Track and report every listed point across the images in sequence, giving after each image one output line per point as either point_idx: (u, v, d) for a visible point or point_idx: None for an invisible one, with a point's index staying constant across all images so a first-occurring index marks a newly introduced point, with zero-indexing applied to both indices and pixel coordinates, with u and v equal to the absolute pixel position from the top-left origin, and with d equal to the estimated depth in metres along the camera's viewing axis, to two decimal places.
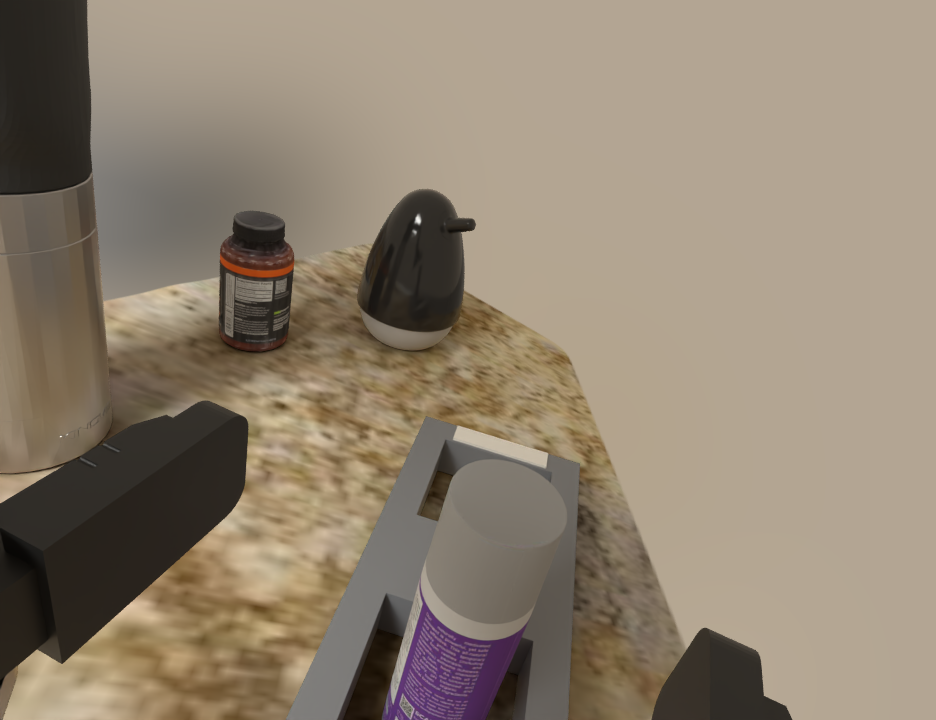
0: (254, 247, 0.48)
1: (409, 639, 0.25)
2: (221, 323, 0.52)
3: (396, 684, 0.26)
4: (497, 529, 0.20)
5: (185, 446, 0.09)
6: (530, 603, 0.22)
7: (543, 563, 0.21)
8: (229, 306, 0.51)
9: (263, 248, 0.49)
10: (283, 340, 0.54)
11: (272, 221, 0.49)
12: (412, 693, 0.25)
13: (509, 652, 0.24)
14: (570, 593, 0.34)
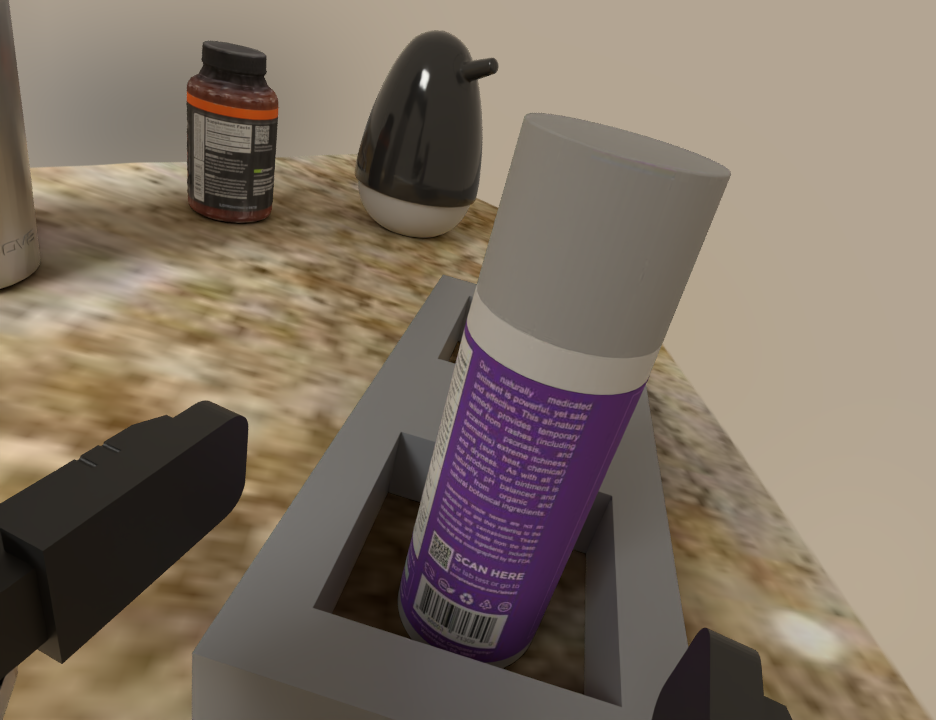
0: (228, 78, 0.39)
1: (446, 433, 0.15)
2: (190, 186, 0.43)
3: (423, 523, 0.17)
4: (621, 151, 0.11)
5: (185, 446, 0.09)
6: (660, 330, 0.13)
7: (696, 228, 0.12)
8: (198, 160, 0.41)
9: (239, 81, 0.40)
10: (266, 213, 0.45)
11: (250, 51, 0.40)
12: (450, 523, 0.16)
13: (615, 436, 0.14)
14: (652, 449, 0.25)
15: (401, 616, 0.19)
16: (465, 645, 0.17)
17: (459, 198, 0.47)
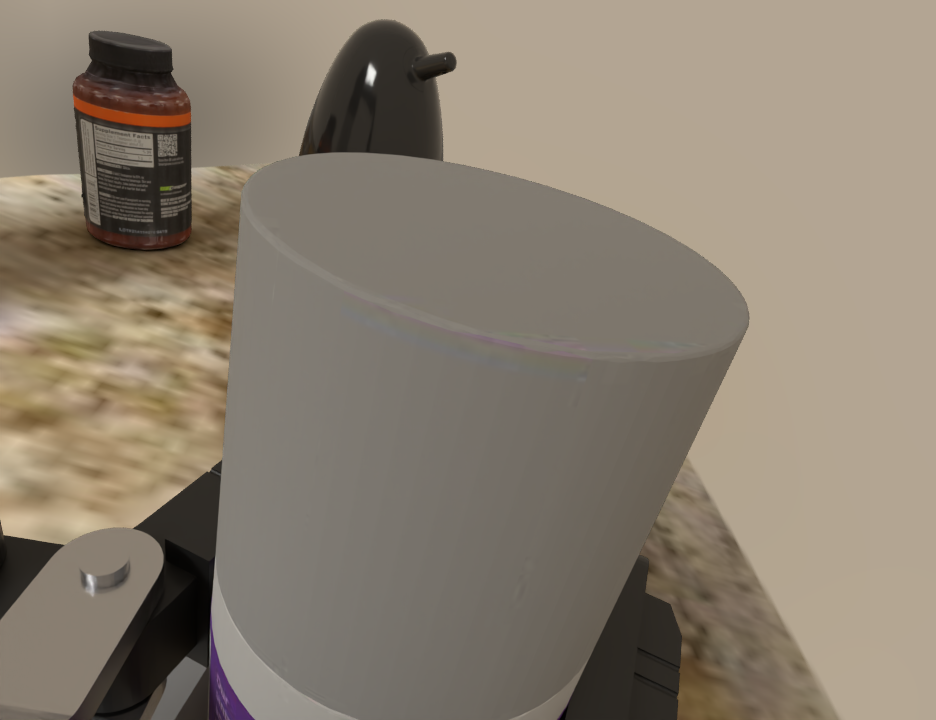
0: (120, 76, 0.32)
1: None
2: (85, 206, 0.36)
3: None
4: (446, 281, 0.04)
5: None
6: (588, 644, 0.06)
7: (661, 466, 0.05)
8: (90, 175, 0.34)
9: (134, 80, 0.32)
10: (181, 237, 0.38)
11: (150, 43, 0.33)
12: None
13: None
14: None
15: None
16: None
17: None
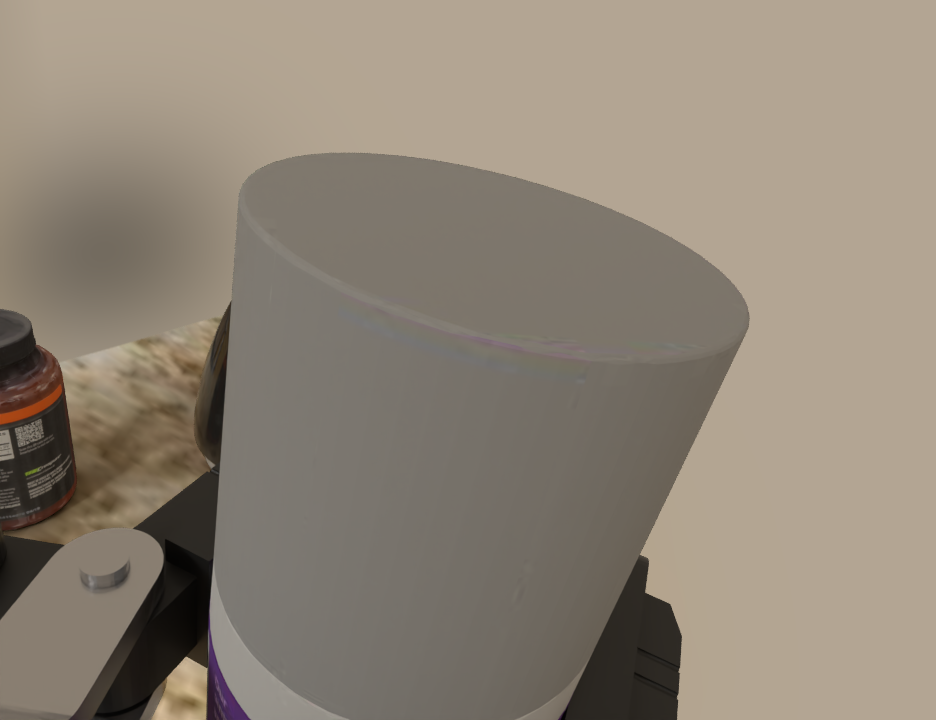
0: None
1: None
2: None
3: None
4: (445, 284, 0.04)
5: None
6: (587, 646, 0.06)
7: (659, 468, 0.05)
8: None
9: None
10: (60, 504, 0.34)
11: (4, 329, 0.29)
12: None
13: None
14: None
15: None
16: None
17: None
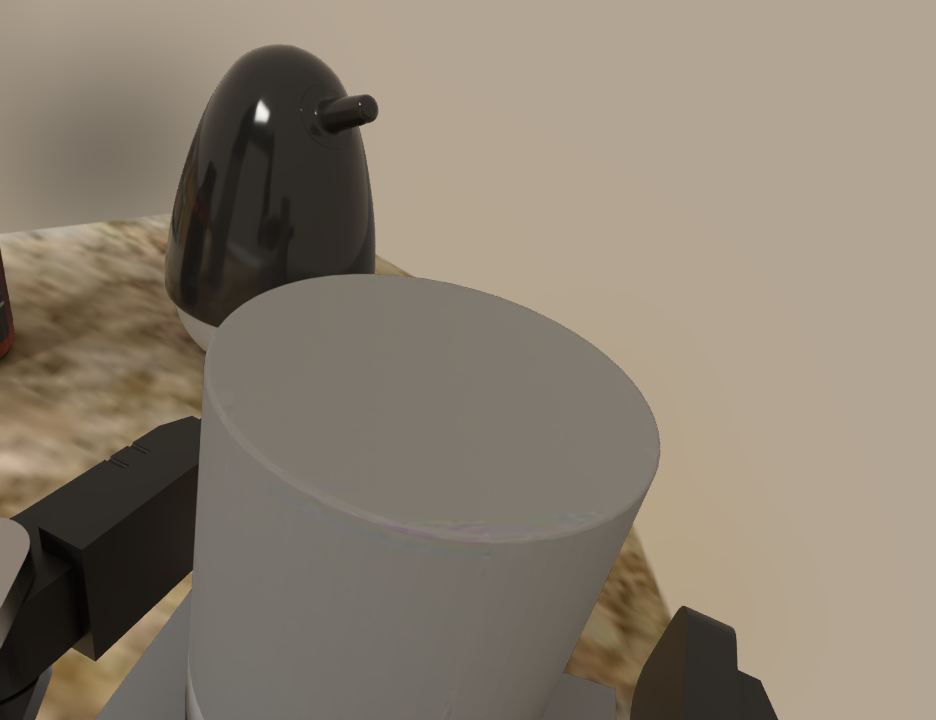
0: None
1: None
2: None
3: None
4: (376, 459, 0.05)
5: None
6: None
7: (572, 604, 0.05)
8: None
9: None
10: None
11: None
12: None
13: None
14: None
15: None
16: None
17: None
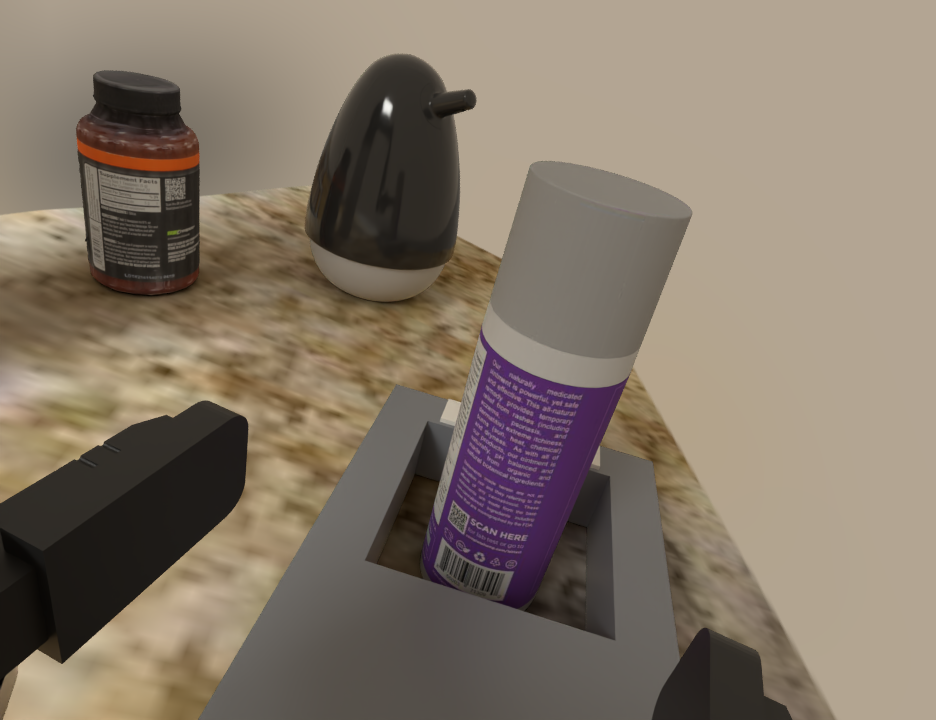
0: (126, 119, 0.31)
1: (464, 418, 0.19)
2: (88, 250, 0.34)
3: (443, 494, 0.20)
4: (604, 198, 0.15)
5: (185, 446, 0.09)
6: (637, 336, 0.16)
7: (663, 257, 0.15)
8: (94, 220, 0.33)
9: (140, 123, 0.31)
10: (189, 280, 0.36)
11: (158, 84, 0.32)
12: (467, 493, 0.19)
13: (601, 421, 0.18)
14: None
15: (423, 575, 0.22)
16: None
17: (430, 258, 0.39)
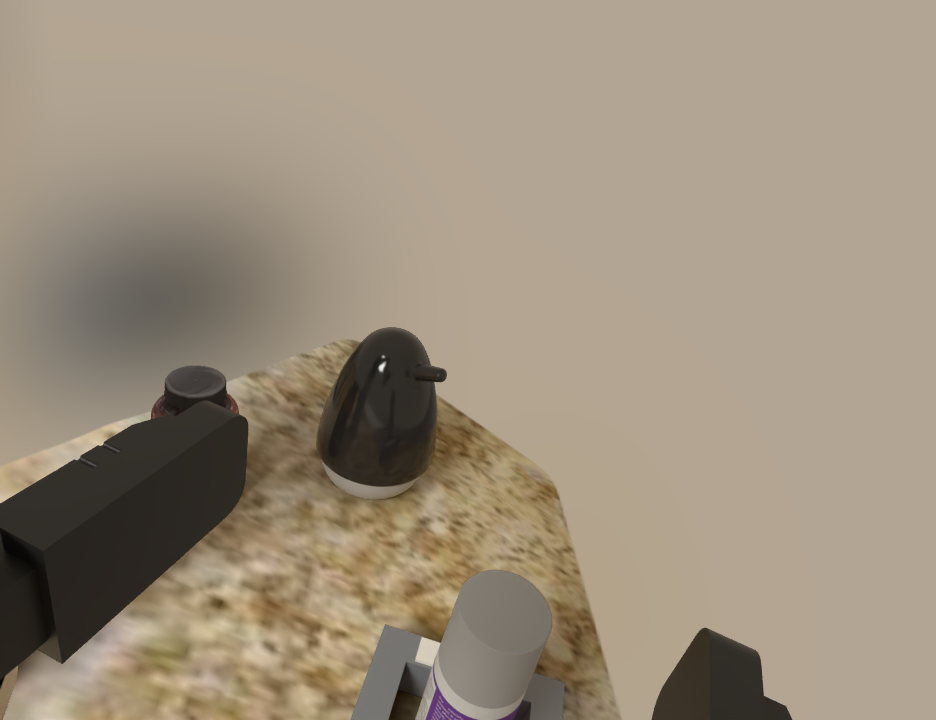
0: None
1: (424, 713, 0.30)
2: None
3: None
4: (496, 638, 0.26)
5: (185, 446, 0.09)
6: (522, 690, 0.28)
7: (532, 662, 0.27)
8: None
9: None
10: None
11: (211, 381, 0.43)
12: None
13: None
14: None
15: None
16: None
17: (413, 474, 0.50)
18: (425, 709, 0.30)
